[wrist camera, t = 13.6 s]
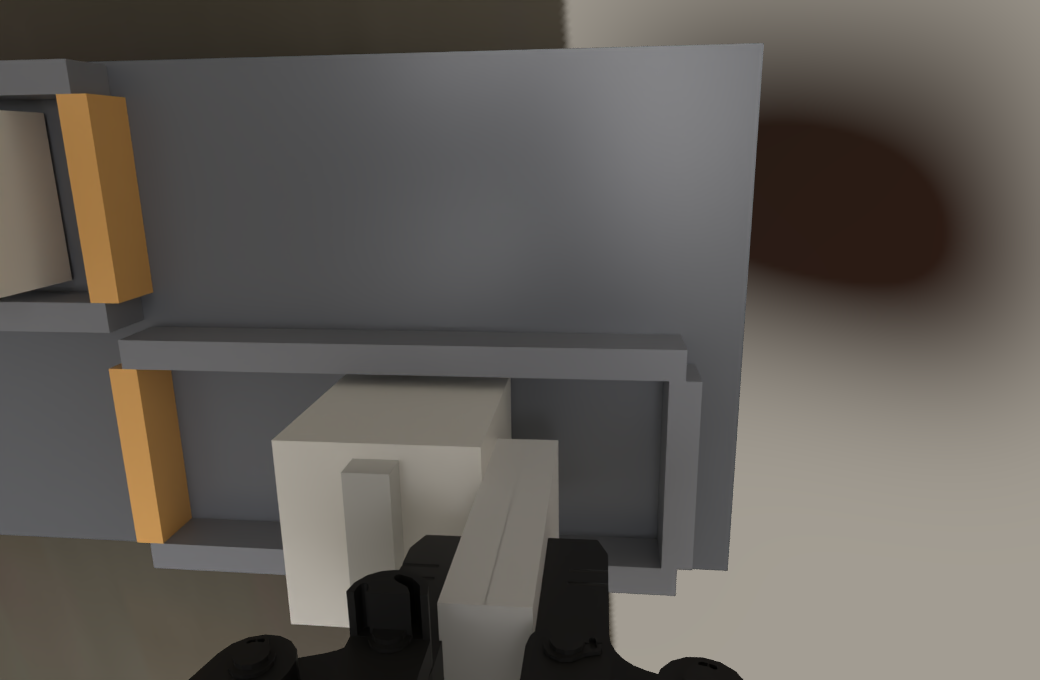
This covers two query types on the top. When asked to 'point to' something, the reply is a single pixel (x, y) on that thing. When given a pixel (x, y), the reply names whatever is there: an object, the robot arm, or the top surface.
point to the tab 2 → (379, 478)
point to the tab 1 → (29, 208)
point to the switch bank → (384, 283)
